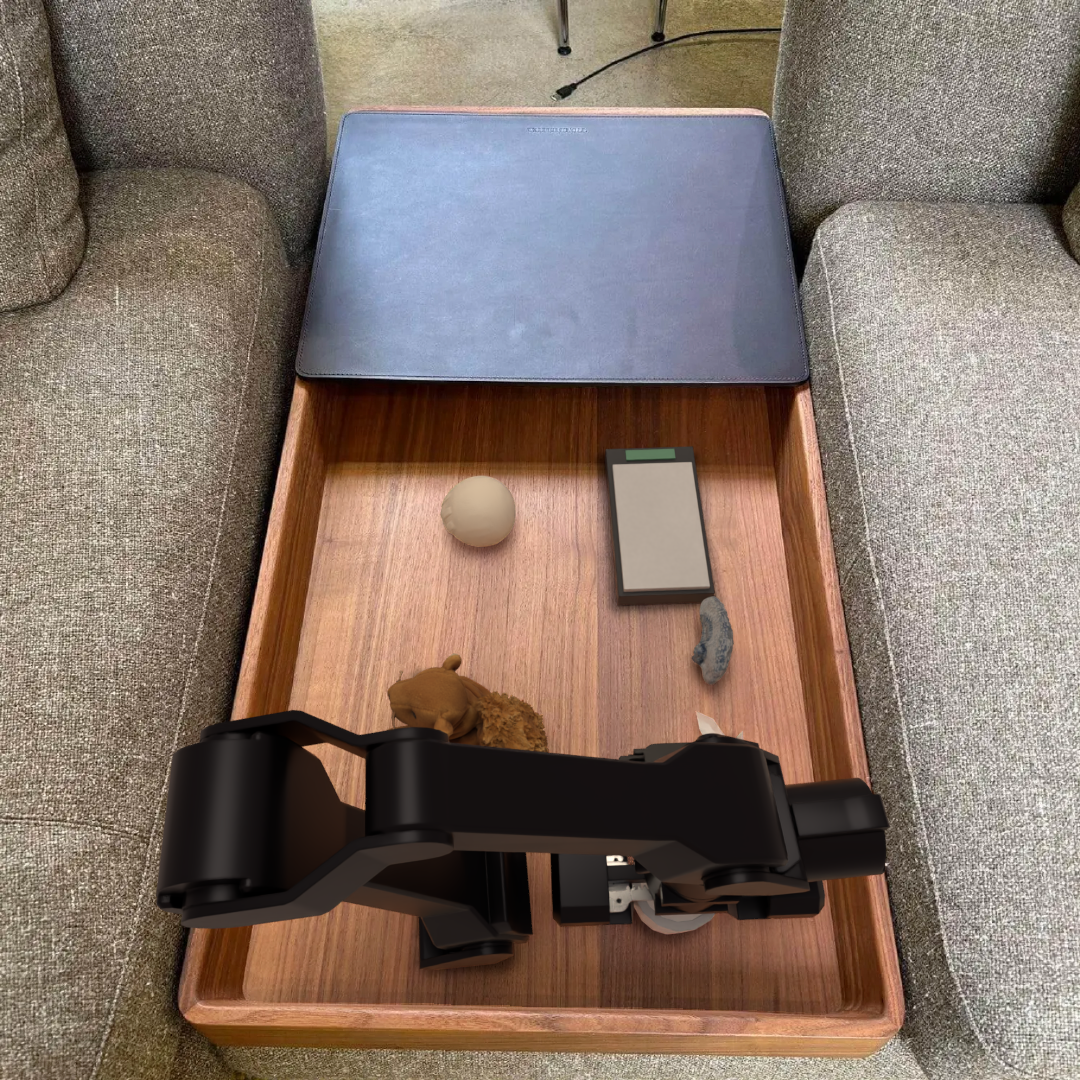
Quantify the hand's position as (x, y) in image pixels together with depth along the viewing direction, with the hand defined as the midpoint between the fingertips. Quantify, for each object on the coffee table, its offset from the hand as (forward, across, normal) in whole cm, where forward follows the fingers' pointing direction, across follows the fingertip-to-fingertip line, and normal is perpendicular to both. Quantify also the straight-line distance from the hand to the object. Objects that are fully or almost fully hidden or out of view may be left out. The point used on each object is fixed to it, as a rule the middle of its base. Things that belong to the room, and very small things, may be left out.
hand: (669, 893), depth 70 cm
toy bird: (+2, -5, -11) cm, 12 cm away
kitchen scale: (+1, -3, -35) cm, 35 cm away
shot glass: (+2, 0, 0) cm, 2 cm away
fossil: (+2, -6, -21) cm, 22 cm away
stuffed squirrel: (+2, +16, -13) cm, 21 cm away
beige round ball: (+2, +15, -35) cm, 38 cm away
